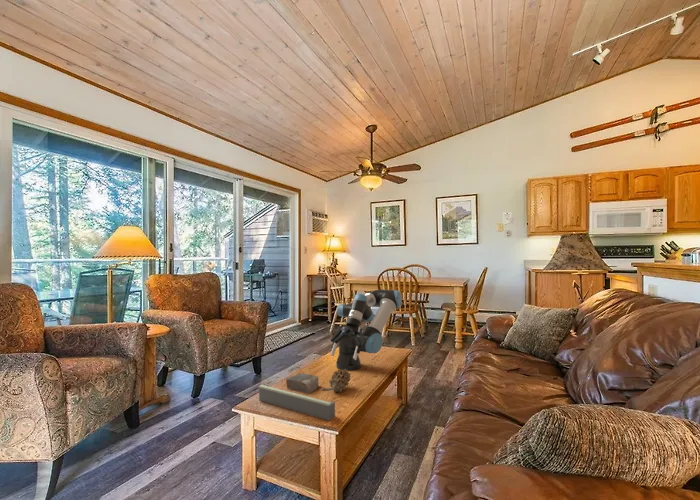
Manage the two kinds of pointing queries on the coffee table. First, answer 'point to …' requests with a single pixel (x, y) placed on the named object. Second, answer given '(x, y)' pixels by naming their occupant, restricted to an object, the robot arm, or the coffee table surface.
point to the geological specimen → (303, 383)
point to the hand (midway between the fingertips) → (343, 357)
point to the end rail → (297, 402)
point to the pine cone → (338, 380)
